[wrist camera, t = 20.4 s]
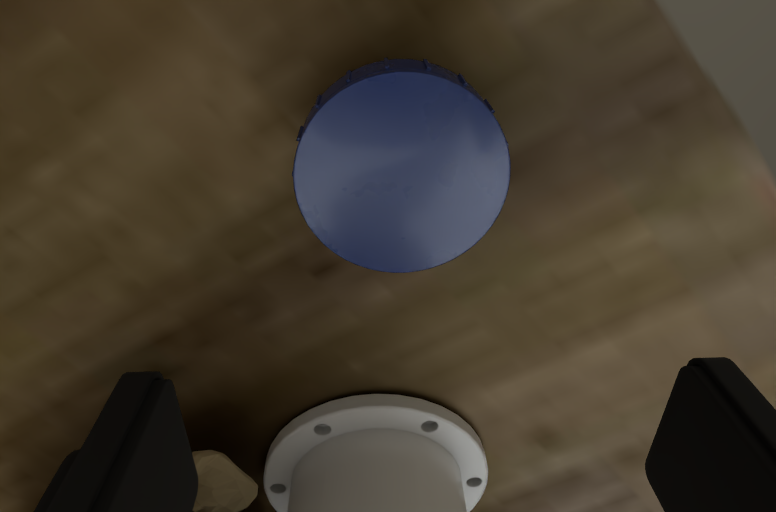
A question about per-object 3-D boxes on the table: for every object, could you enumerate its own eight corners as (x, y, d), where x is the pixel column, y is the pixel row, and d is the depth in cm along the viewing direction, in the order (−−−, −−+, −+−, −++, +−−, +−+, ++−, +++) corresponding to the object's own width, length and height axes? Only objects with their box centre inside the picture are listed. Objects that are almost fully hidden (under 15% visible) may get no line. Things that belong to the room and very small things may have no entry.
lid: (530, 81, 17) (545, 96, 15) (466, 263, 20) (473, 288, 19) (312, 33, 16) (308, 44, 14) (285, 233, 19) (280, 257, 18)
